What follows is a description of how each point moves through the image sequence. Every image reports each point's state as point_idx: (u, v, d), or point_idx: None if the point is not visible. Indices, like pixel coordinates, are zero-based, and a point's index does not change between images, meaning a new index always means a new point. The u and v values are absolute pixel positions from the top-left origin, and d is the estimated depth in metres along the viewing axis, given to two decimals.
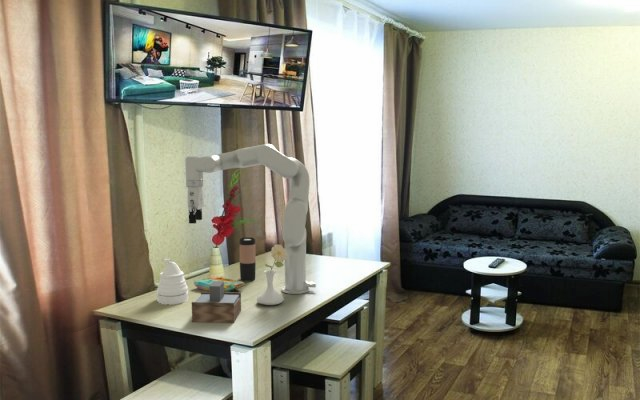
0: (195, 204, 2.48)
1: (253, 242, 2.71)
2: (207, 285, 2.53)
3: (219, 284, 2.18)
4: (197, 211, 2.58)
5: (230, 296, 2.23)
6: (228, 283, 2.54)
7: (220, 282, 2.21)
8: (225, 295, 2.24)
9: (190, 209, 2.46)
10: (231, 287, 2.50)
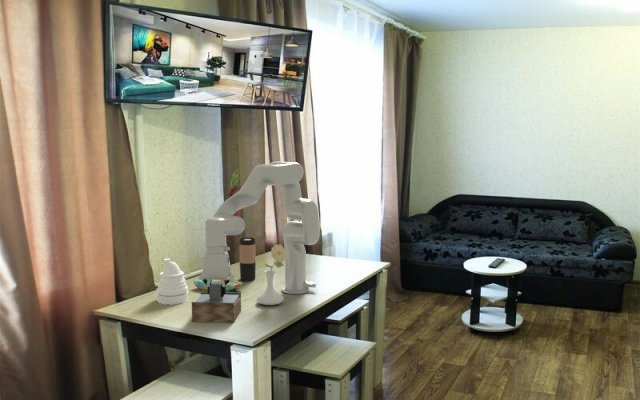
0: None
1: (253, 242, 2.71)
2: (206, 285, 2.53)
3: (219, 284, 2.18)
4: None
5: (230, 296, 2.23)
6: None
7: (220, 282, 2.21)
8: (225, 295, 2.24)
9: (231, 280, 2.19)
10: (229, 287, 2.49)
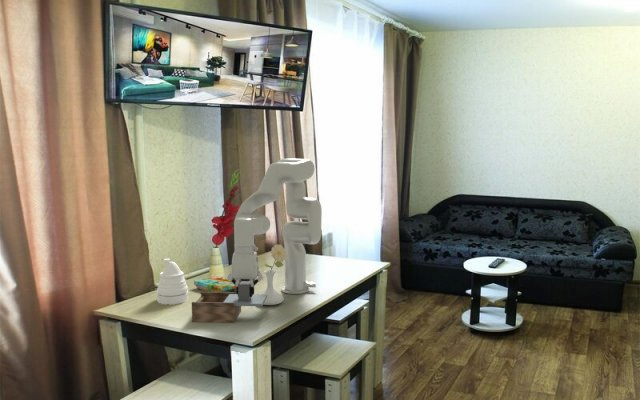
0: None
1: None
2: (205, 285, 2.53)
3: (248, 284, 2.18)
4: None
5: (258, 296, 2.22)
6: (226, 284, 2.53)
7: (248, 282, 2.20)
8: (253, 295, 2.24)
9: None
10: (228, 288, 2.49)
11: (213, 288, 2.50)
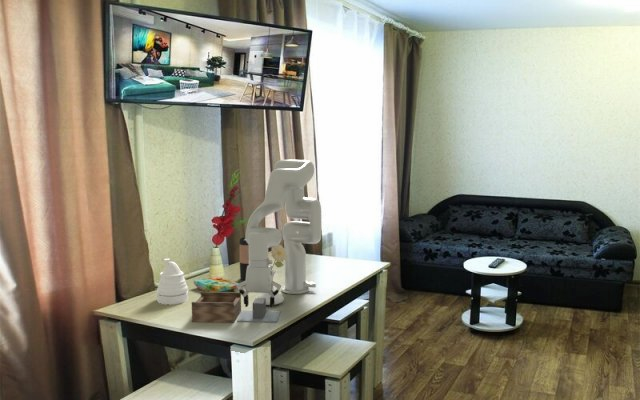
0: None
1: None
2: (204, 285, 2.53)
3: (262, 301, 2.18)
4: (247, 296, 2.19)
5: (272, 313, 2.23)
6: (224, 284, 2.53)
7: (262, 299, 2.21)
8: (267, 312, 2.24)
9: (279, 289, 2.18)
10: (225, 288, 2.48)
11: (211, 288, 2.49)
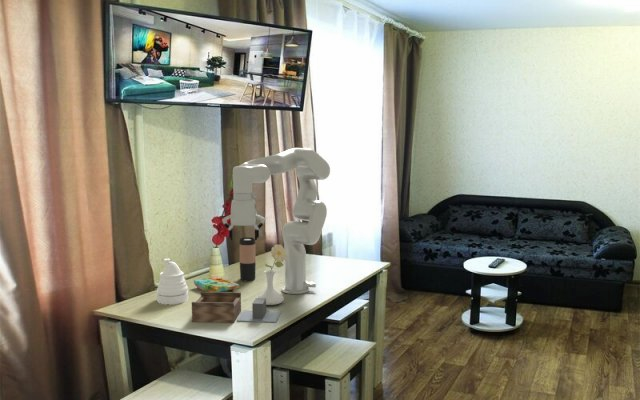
0: None
1: (253, 242, 2.71)
2: (203, 285, 2.53)
3: (262, 301, 2.18)
4: (232, 230, 2.25)
5: (272, 313, 2.23)
6: (223, 284, 2.52)
7: (262, 299, 2.21)
8: (267, 312, 2.24)
9: (263, 222, 2.25)
10: (223, 289, 2.47)
11: (210, 288, 2.49)
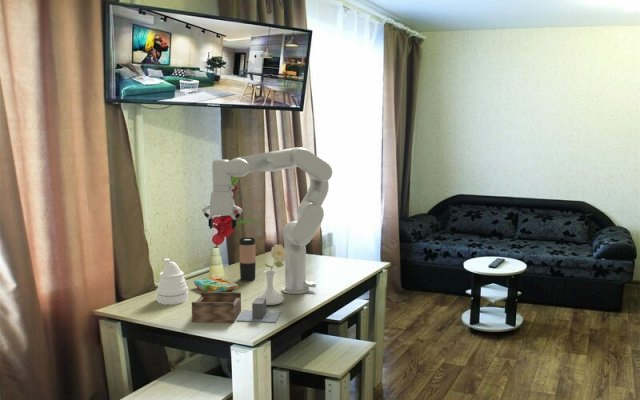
0: (234, 208, 2.42)
1: (253, 242, 2.71)
2: (202, 285, 2.53)
3: (262, 301, 2.18)
4: (211, 219, 2.41)
5: (272, 313, 2.23)
6: (222, 285, 2.52)
7: (262, 299, 2.21)
8: (267, 312, 2.24)
9: (240, 213, 2.41)
10: (222, 289, 2.47)
11: (208, 288, 2.49)
